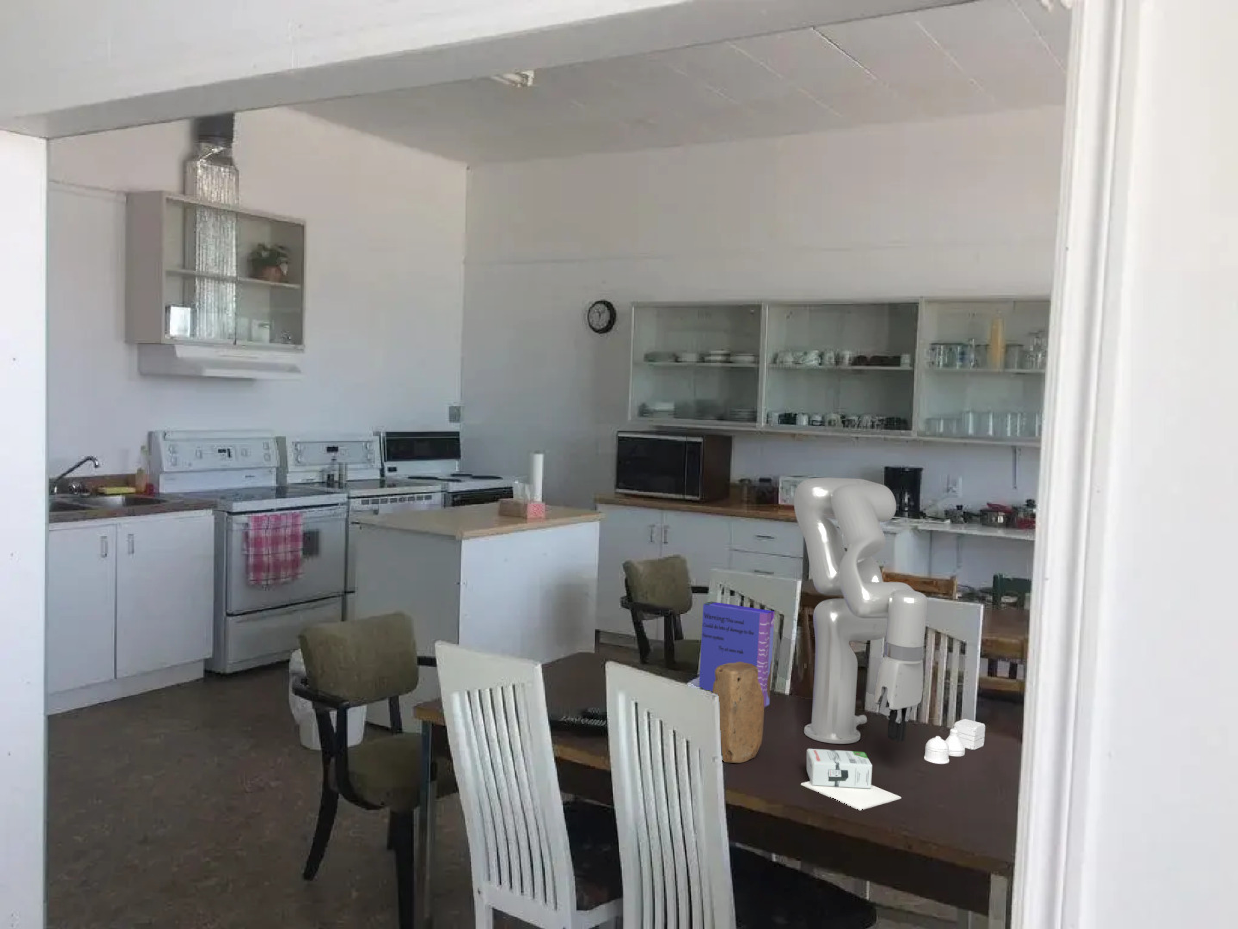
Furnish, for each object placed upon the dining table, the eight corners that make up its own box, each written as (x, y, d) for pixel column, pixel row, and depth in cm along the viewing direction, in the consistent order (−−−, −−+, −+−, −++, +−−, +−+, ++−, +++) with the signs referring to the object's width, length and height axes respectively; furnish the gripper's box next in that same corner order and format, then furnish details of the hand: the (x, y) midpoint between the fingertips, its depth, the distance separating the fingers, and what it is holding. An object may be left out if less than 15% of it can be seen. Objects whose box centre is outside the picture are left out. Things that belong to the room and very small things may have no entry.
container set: (962, 741, 242) (964, 718, 241) (984, 747, 238) (985, 723, 238) (919, 760, 227) (921, 735, 227) (941, 766, 224) (943, 741, 223)
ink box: (863, 774, 215) (805, 770, 216) (865, 751, 215) (806, 747, 215) (871, 790, 206) (810, 786, 207) (872, 765, 206) (811, 761, 207)
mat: (841, 774, 215) (841, 773, 215) (901, 798, 203) (901, 797, 203) (800, 784, 208) (801, 783, 208) (859, 810, 196) (859, 809, 196)
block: (727, 767, 216) (732, 671, 215) (704, 756, 223) (709, 663, 221) (766, 758, 223) (771, 665, 221) (742, 748, 229) (747, 657, 228)
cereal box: (769, 705, 263) (774, 610, 262) (761, 709, 259) (767, 613, 258) (706, 692, 272) (711, 600, 271) (698, 696, 268) (703, 603, 267)
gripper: (911, 642, 220) (904, 727, 222) (864, 651, 211) (857, 739, 213) (942, 652, 214) (933, 739, 216) (894, 661, 205) (886, 752, 207)
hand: (895, 739), depth 215 cm, fingers closed
